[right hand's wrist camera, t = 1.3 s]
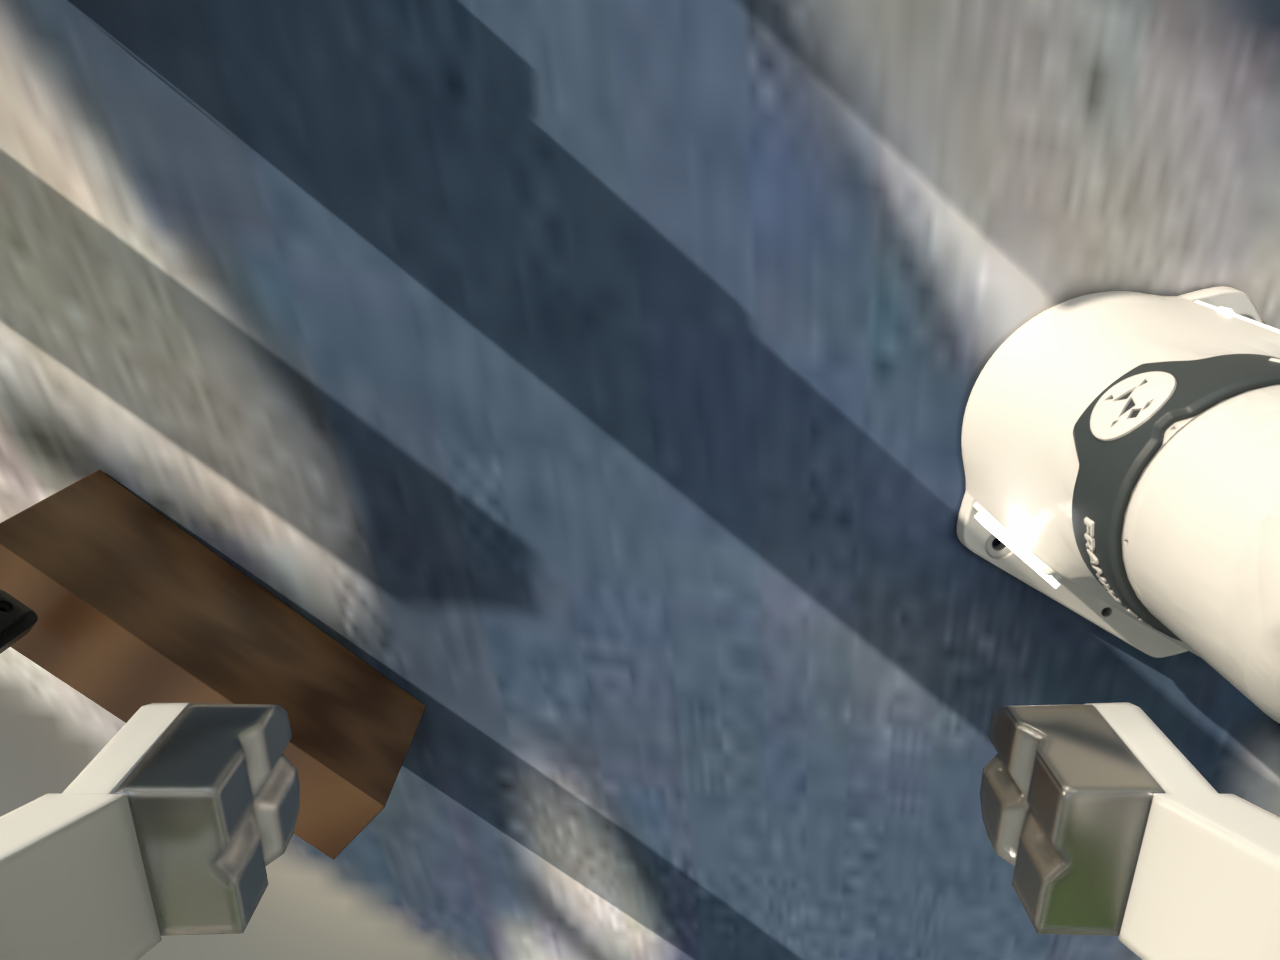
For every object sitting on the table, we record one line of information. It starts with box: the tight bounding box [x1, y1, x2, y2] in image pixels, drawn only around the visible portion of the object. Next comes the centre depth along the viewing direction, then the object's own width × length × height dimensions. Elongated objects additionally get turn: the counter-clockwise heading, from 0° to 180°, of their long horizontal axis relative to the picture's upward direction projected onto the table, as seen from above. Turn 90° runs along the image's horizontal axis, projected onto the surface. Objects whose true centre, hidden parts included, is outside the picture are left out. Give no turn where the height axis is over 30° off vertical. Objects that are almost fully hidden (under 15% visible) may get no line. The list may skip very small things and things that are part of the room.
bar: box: [0, 470, 426, 859], centre depth 48 cm, size 23×5×9 cm, turn 48°
